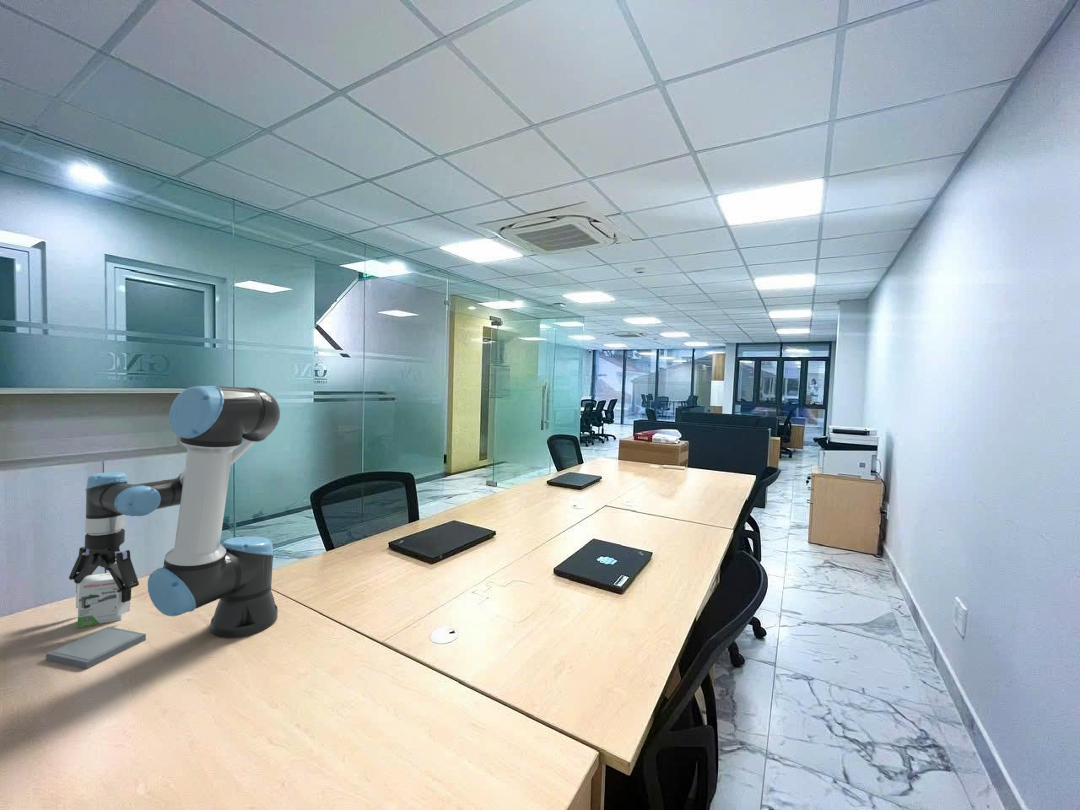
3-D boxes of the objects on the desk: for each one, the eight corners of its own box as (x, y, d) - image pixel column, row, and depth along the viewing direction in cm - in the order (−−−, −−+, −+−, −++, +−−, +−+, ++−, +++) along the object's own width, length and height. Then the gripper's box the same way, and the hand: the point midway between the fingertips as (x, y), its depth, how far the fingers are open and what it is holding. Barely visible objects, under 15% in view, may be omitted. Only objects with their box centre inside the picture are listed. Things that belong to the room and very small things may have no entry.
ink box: (76, 628, 111) (77, 583, 110) (82, 619, 115) (84, 575, 115) (121, 620, 115) (123, 576, 115) (126, 612, 120) (128, 570, 119)
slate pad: (145, 639, 107) (145, 633, 107) (86, 669, 96) (86, 662, 96) (108, 632, 110) (108, 626, 110) (45, 659, 98) (46, 653, 98)
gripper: (158, 532, 116) (155, 609, 116) (86, 522, 121) (84, 596, 121) (126, 540, 109) (123, 623, 109) (51, 529, 113) (49, 609, 114)
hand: (102, 609), depth 115 cm, fingers open, 13 cm apart
